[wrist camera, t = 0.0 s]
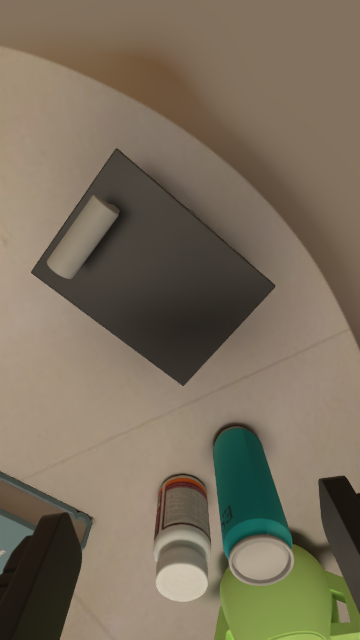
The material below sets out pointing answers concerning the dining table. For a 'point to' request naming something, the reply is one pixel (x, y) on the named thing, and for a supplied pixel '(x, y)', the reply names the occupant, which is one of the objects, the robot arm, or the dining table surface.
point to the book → (30, 515)
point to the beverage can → (250, 510)
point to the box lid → (151, 271)
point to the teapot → (287, 606)
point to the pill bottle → (182, 539)
